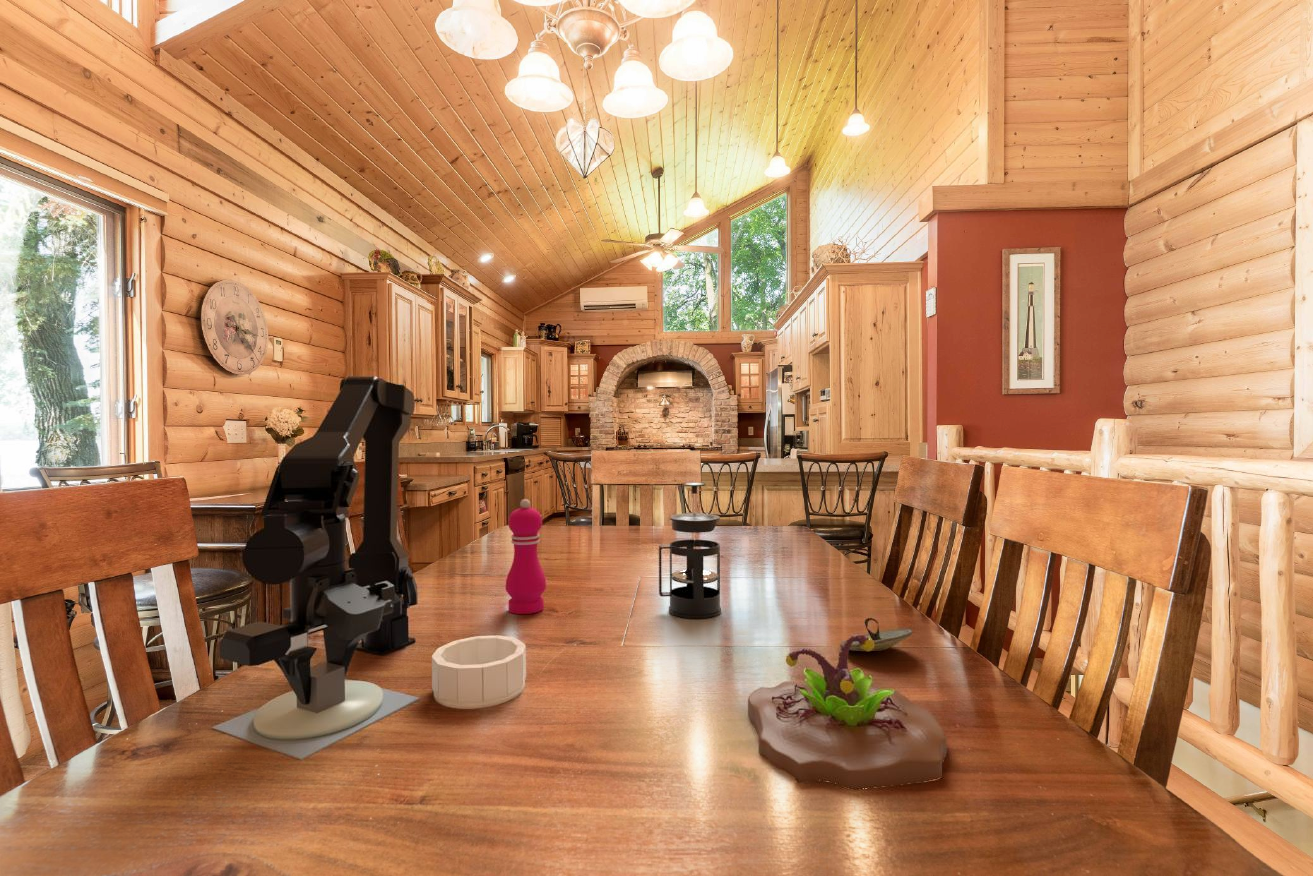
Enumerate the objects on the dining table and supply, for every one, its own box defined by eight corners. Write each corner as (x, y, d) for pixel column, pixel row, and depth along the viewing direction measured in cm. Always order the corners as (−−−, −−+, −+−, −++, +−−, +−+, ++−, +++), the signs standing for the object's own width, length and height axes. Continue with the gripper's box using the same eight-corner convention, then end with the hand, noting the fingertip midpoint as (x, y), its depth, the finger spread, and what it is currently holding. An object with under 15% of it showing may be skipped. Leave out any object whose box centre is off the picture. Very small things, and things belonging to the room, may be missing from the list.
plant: (985, 797, 55) (986, 674, 55) (767, 795, 56) (767, 673, 56) (902, 698, 75) (902, 607, 75) (742, 697, 76) (742, 607, 76)
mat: (212, 730, 67) (212, 727, 67) (336, 679, 81) (335, 676, 81) (301, 763, 61) (301, 759, 61) (419, 701, 74) (419, 697, 74)
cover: (227, 724, 68) (226, 681, 68) (334, 679, 79) (333, 642, 79) (304, 750, 62) (304, 703, 62) (407, 698, 74) (406, 658, 74)
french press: (719, 602, 115) (719, 479, 115) (729, 618, 106) (729, 484, 105) (656, 604, 114) (656, 480, 114) (661, 620, 105) (661, 485, 104)
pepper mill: (537, 616, 107) (536, 501, 107) (498, 614, 108) (497, 501, 108) (552, 604, 114) (551, 497, 114) (516, 602, 115) (515, 496, 115)
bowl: (413, 699, 75) (413, 658, 75) (476, 667, 85) (476, 631, 84) (484, 718, 70) (483, 674, 70) (542, 681, 80) (542, 643, 80)
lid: (887, 672, 82) (887, 635, 82) (824, 651, 90) (825, 617, 90) (926, 654, 89) (926, 619, 89) (865, 636, 97) (865, 604, 97)
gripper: (283, 590, 58) (286, 752, 59) (433, 552, 75) (434, 679, 76) (214, 577, 63) (217, 727, 64) (369, 545, 80) (371, 664, 80)
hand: (320, 697), depth 71 cm, fingers closed on cover, 3 cm apart
